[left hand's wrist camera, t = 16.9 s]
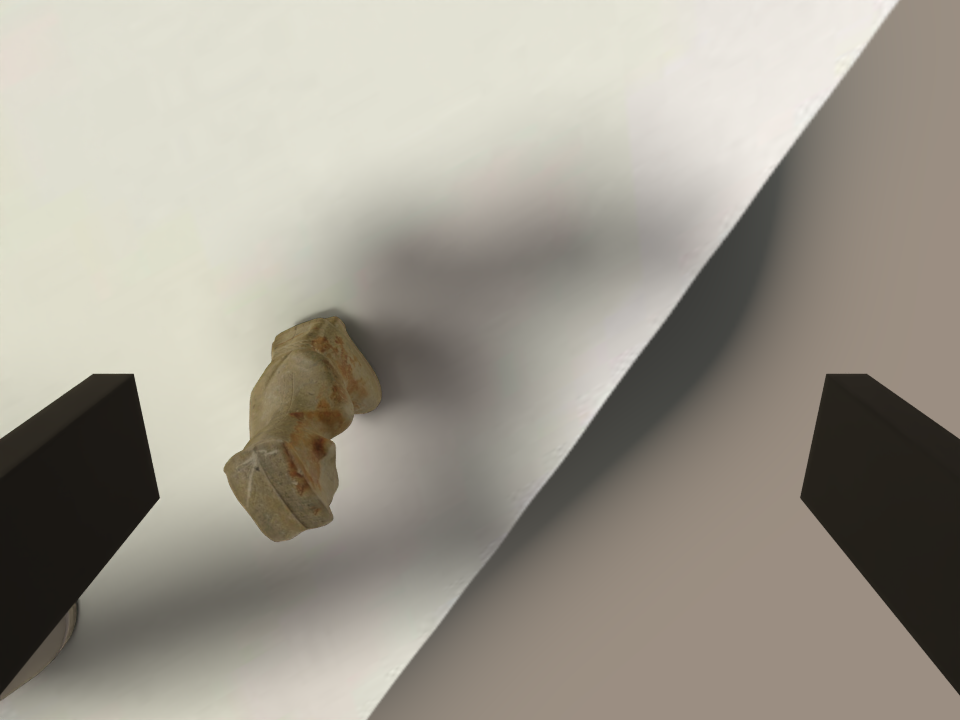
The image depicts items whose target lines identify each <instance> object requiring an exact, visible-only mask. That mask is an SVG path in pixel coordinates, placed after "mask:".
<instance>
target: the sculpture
mask: <svg viewBox="0 0 960 720" xmlns="http://www.w3.org/2000/svg"><path fill="white" fill-rule="evenodd" d="M271 356H272V361H271V363H270V364H269V365H268V367H267V368H266V369H265V371H264V373H263V374H262V376H261V377H260V379H259V380H258V382H257V383H256V385H255V387H254V388H253V390H252V392H251V397H250V416H249V428H250V441H249V442H248V443H247V445H246V446H245V447H244V449H243V450H242V451H240V452H238V453H236V454H235V455H234V456H232V457H231V458H230V459H229V461H228V462H227V463H226V464H225V466H224V472H225V474H226V475H227V478H228V482H229V485H230V487H231V489H232V491H233V493H234V494H235V496H236V498H237V499H238V501H239V502H240V503H241V505H242V506H243V507H244V508H245V510H246V511H247V512H248V513H249V515H250V516H251V517H252V519H253V520H254V521H255V523H256V524H257V526H258V527H259V529H260V530H261V531H262V532H263V533H264V534H265V535H266V536H267V537H268V538H270V539H271V540H273V541H274V542H280V541H286V540H290V539H292V538H294V537H295V536H297V535H298V534H300V533H301V532H303V531H305V530H308V529H313V528H318V527H321V526H325V525H327V524H328V523H330V522H331V521H332V520H333V514H332V512H331V509H330V507H329V505H330V503H331V501H332V499H333V495H334V493H335V492H336V490H337V488H338V485H339V480H338V474H337V469H336V447H335V443H334V442H333V441H331V440H330V439H332V438H333V437H335V436H337V435H339V434H340V433H342V432H343V431H345V430H346V429H347V428H348V427H349V426H350V424H351V422H352V420H353V417H354V414H365V413H368V412H370V411H372V410H374V409H375V408H376V407H377V406H378V405H379V403H380V401H381V394H382V392H381V386H380V383H379V380H378V378H377V376H376V374H375V372H374V371H373V369H372V368H371V366H370V364H369V363H368V362H367V360H366V359H365V357H364V356H363V355H362V353H361V352H360V351H359V349H358V348H357V347H356V346H355V344H354V343H353V341H352V340H351V339H350V337H349V335H348V333H347V331H346V327H345V325H344V323H343V322H342V321H341V320H340V319H339V318H338V317H335V316H334V317H330V318H326V319H324V318H317V319H313V320H310V321H307V322H304V323H301V324H299V325H296V326H294V327H292V328H290V329H288V330H286V331H284V332H282V333H280V334H278V335H277V336H276V337H275V341H274V342H273V344H272V352H271Z"/></svg>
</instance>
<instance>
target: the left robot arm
mask: <svg viewBox="0 0 960 720" xmlns="http://www.w3.org/2000/svg"><path fill="white" fill-rule="evenodd" d="M159 498H160V497H159V492H158V487H157V482H156V478H155V473H154V468H153V463H152V459H151V454H150V449H149V444H148V440H147V435H146V430H145V425H144V421H143V416H142V411H141V406H140V402H139V397H138V392H137V387H136V383H135V378H134V374H92V375H91V376H89V377H88V378H87V379H85V380H84V381H82V382H81V383H80V384H78V385H77V386H75V387H74V388H72V389H71V390H70V391H68V392H67V393H65V394H64V395H62V396H61V397H60V398H58V399H57V400H55V401H54V402H52V403H51V404H50V405H48V406H47V407H45V408H44V409H43V410H41V411H40V412H38V413H37V414H35V415H34V416H33V417H31V418H30V419H28V420H27V421H25V422H24V423H23V424H21V425H20V426H18V427H17V428H15V429H14V430H13V431H11V432H10V433H8V434H7V435H6V436H4V437H3V438H1V439H0V701H1V700H2V699H4V698H5V697H7V696H8V695H10V694H11V693H12V692H14V691H15V690H17V689H18V688H19V687H21V686H22V685H24V684H25V683H27V682H28V681H29V680H31V679H32V678H34V677H35V676H36V675H38V674H39V673H40V672H41V671H42V670H43V669H44V668H45V667H46V666H47V665H48V664H50V663H51V662H52V660H53V659H54V658H55V657H56V656H57V655H58V653H59V652H60V651H61V649H62V648H63V647H64V645H65V644H66V643H67V641H68V640H69V638H70V636H71V634H72V632H73V630H74V627H75V623H76V615H77V608H76V601H77V600H78V598H79V597H80V596H81V595H82V594H83V592H84V591H85V590H86V589H87V587H88V586H89V585H90V584H91V582H92V581H93V580H94V579H95V577H96V576H97V575H98V574H99V573H100V571H101V570H102V569H103V568H104V566H105V565H106V564H107V563H108V561H109V560H110V559H111V558H112V556H113V555H114V554H115V553H116V551H117V550H118V549H119V548H120V547H121V545H122V544H123V543H124V542H125V540H126V539H127V538H128V537H129V535H130V534H131V533H132V532H133V530H134V529H135V528H136V527H137V526H138V524H139V523H140V522H141V521H142V519H143V518H144V517H145V516H146V514H147V513H148V512H149V511H150V509H151V508H152V507H153V506H154V505H155V503H156V502H157V501H158V500H159ZM800 498H801V500H802V501H803V502H804V503H805V504H806V506H807V507H808V508H809V509H810V511H811V512H812V513H813V514H814V516H815V517H816V518H817V519H818V521H819V522H820V523H821V524H822V525H823V527H824V528H825V529H826V530H827V532H828V533H829V534H830V535H831V537H832V538H833V539H834V540H835V542H836V543H837V544H838V545H839V547H840V548H841V549H842V550H843V551H844V553H845V554H846V555H847V556H848V558H849V559H850V560H851V561H852V563H853V564H854V565H855V566H856V568H857V569H858V570H859V571H860V573H861V574H862V575H863V576H864V577H865V579H866V580H867V581H868V582H869V584H870V585H871V586H872V587H873V589H874V590H875V591H876V592H877V594H878V595H879V596H880V597H881V598H882V600H883V601H884V602H885V603H886V605H887V606H888V607H889V608H890V610H891V611H892V612H893V613H894V615H895V616H896V617H897V618H898V619H899V621H900V622H901V623H902V624H903V626H904V627H905V628H906V629H907V631H908V632H909V633H910V634H911V636H912V637H913V638H914V639H915V641H916V642H917V643H918V644H919V645H920V647H921V648H922V649H923V650H924V652H925V653H926V654H927V655H928V657H929V658H930V659H931V660H932V662H933V663H934V664H935V665H936V666H937V668H938V669H939V670H940V671H941V673H942V674H943V675H944V676H945V678H946V679H947V680H948V681H949V682H950V684H951V685H952V686H953V687H954V689H955V690H956V691H957V692H958V694H959V695H960V439H959V438H957V437H956V436H954V435H953V434H952V433H950V432H949V431H947V430H946V429H945V428H943V427H942V426H940V425H939V424H937V423H936V422H934V421H933V420H932V419H930V418H929V417H927V416H926V415H925V414H923V413H922V412H920V411H919V410H917V409H916V408H915V407H913V406H912V405H910V404H909V403H907V402H906V401H905V400H903V399H902V398H900V397H899V396H897V395H896V394H895V393H893V392H892V391H890V390H889V389H888V388H886V387H885V386H883V385H882V384H880V383H879V382H878V381H876V380H875V379H873V378H872V377H871V376H869V375H868V374H826V378H825V383H824V387H823V392H822V397H821V402H820V406H819V411H818V416H817V421H816V425H815V430H814V435H813V440H812V444H811V449H810V454H809V459H808V464H807V468H806V473H805V478H804V482H803V487H802V492H801V497H800Z"/></svg>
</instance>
